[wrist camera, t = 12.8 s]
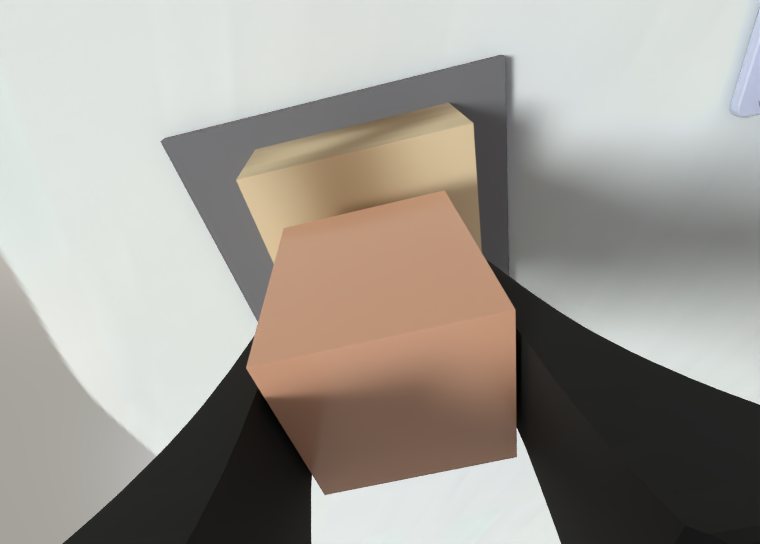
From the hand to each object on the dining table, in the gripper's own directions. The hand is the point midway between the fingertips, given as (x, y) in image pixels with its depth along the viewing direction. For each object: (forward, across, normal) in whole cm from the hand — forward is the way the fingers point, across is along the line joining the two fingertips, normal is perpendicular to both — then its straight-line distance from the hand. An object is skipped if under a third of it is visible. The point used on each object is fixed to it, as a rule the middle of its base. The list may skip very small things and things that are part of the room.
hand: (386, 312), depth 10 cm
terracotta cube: (+2, 0, 0) cm, 2 cm away
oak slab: (+6, 0, 0) cm, 6 cm away
